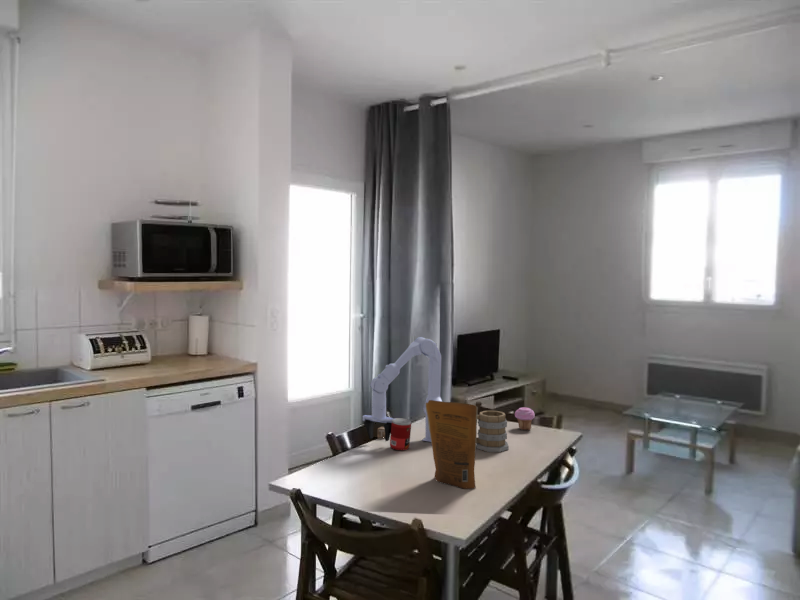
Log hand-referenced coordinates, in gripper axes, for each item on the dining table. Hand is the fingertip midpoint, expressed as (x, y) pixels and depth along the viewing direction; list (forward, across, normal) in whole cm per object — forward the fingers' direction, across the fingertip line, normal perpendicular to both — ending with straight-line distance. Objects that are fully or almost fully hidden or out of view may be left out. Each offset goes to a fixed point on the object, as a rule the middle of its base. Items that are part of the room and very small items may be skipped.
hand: (379, 439), depth 230 cm
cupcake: (+3, +48, +51) cm, 70 cm away
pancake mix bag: (+3, +42, -28) cm, 51 cm away
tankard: (+3, +40, +16) cm, 43 cm away
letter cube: (+2, -4, +12) cm, 12 cm away
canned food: (+2, +9, 0) cm, 10 cm away
